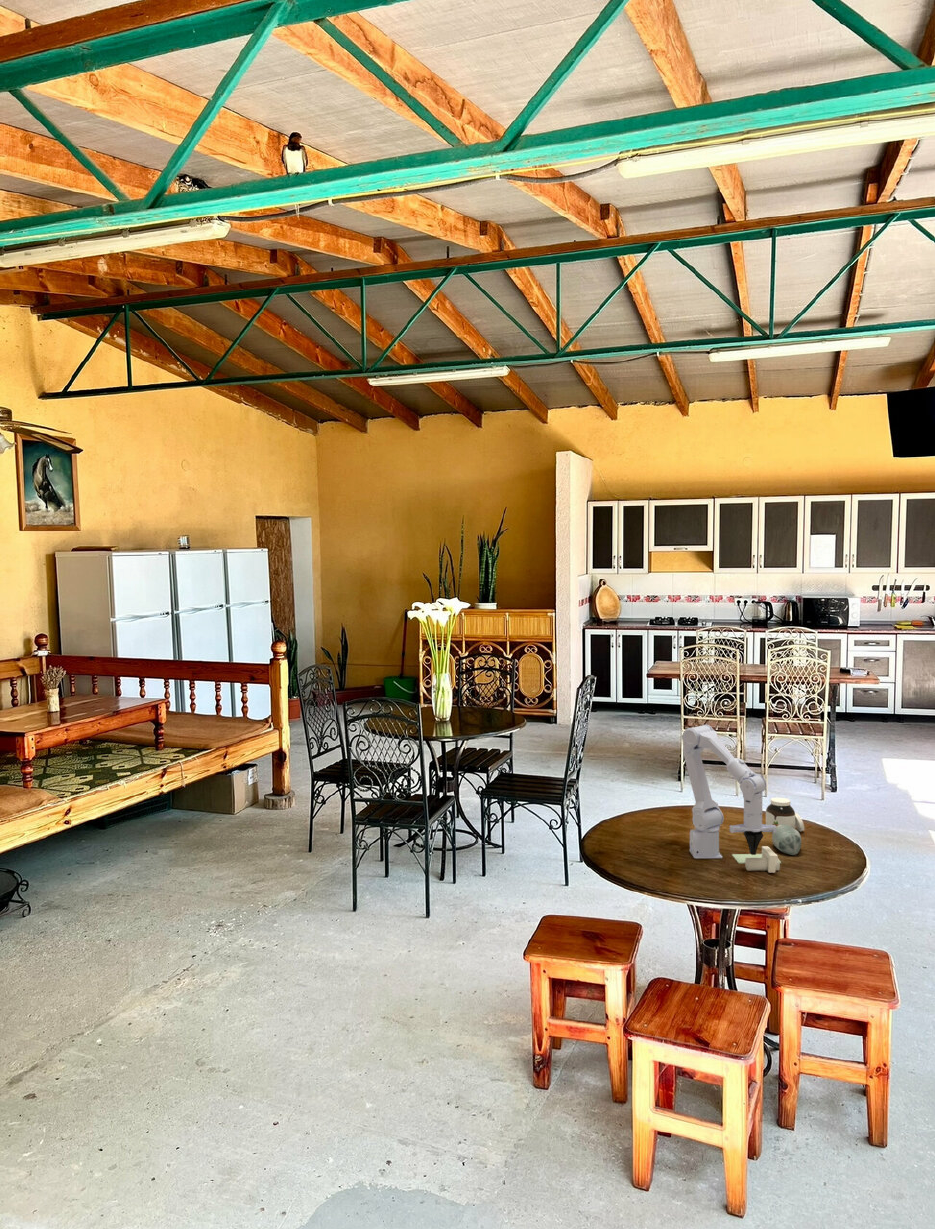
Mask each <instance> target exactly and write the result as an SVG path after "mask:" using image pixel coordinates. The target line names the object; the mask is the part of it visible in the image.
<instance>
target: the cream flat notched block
mask: <svg viewBox="0 0 935 1229" xmlns="http://www.w3.org/2000/svg"><path fill="white" fill-rule="evenodd" d="M761 854H762V858H768V870H767V872H768V873H776V870H775V861H778V859H779V856H778V854H777V853H775V852H774V851H773V850H772V849H771V848H770V847H769V846H767V845H766V846H765V845H762V846H761Z"/></svg>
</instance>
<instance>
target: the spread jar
mask: <svg viewBox="0 0 935 1229" xmlns="http://www.w3.org/2000/svg"><path fill="white" fill-rule="evenodd" d="M765 824H766V825H775V826H776V827H777V826H778V825H789V826H791V827H793V828H795V829H796V830H797V831H798V832H799V833H800V832H803V831H805V828H806V827H805V824H804V821H803V820H802V817H801V816H800V814H799V813H797V812H795V810H794V808H793V807H792V806H791V799H790V798H786V797H779V796H777V797H771V798H770V804H768V806H767V807H766V809H765Z"/></svg>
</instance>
